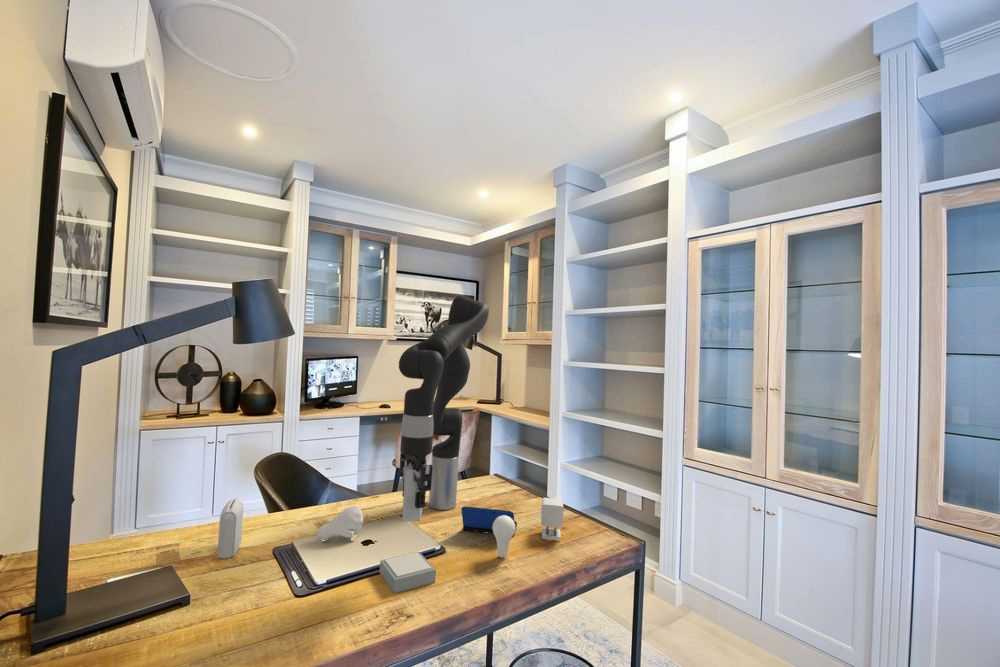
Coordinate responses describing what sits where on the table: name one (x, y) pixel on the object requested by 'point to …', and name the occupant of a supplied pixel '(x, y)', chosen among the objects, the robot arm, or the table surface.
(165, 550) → the table surface
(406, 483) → the skincare box
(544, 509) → the white block on posts
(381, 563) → the plinth
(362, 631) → the table surface
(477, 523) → the handheld game console
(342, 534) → the white rounded figure
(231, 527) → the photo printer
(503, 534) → the lightbulb
